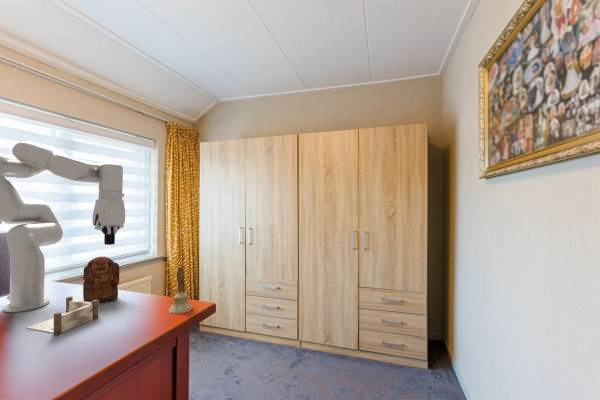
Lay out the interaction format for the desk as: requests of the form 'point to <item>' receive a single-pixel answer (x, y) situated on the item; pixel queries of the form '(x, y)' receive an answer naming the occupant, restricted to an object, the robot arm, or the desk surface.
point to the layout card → (44, 326)
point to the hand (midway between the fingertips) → (109, 244)
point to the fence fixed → (82, 305)
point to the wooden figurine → (101, 280)
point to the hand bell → (180, 296)
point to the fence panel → (72, 318)
